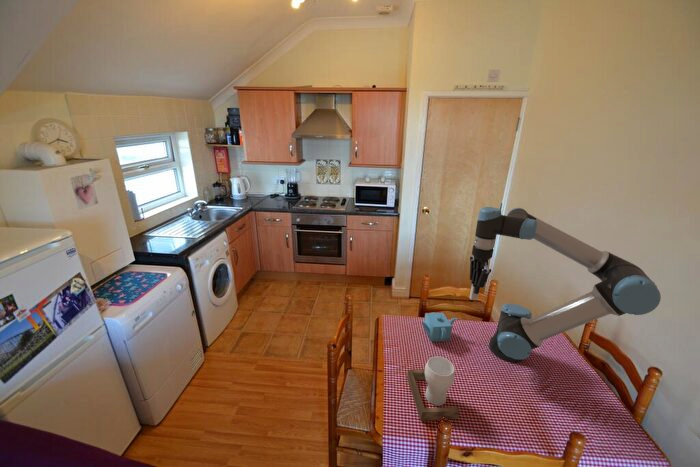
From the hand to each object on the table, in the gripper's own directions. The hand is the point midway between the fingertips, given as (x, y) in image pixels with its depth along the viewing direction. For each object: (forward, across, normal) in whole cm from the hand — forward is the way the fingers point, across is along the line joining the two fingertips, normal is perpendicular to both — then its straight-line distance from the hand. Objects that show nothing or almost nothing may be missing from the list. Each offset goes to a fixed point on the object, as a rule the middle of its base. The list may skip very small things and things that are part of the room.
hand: (473, 298), depth 125 cm
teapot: (+30, -13, -7) cm, 33 cm away
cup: (+30, +21, -20) cm, 41 cm away
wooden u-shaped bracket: (+29, +21, -21) cm, 42 cm away
